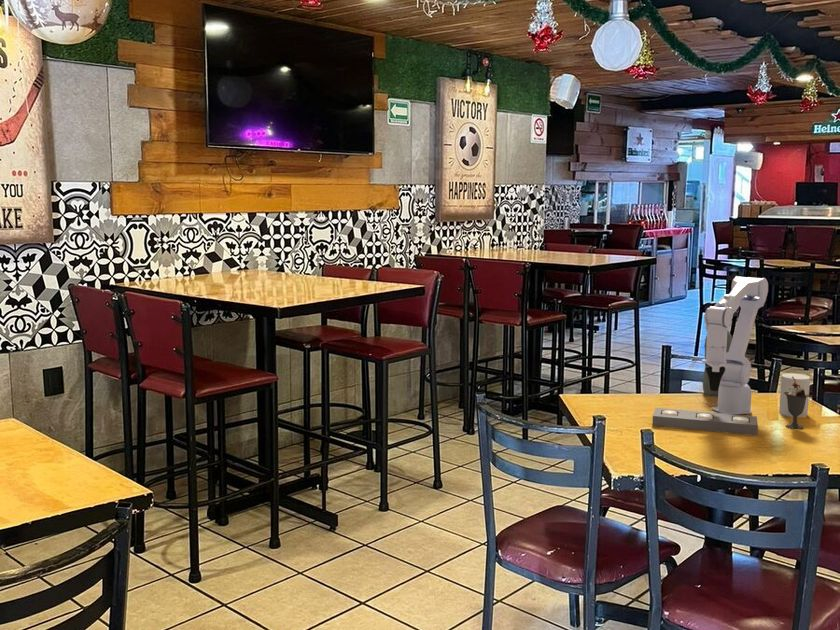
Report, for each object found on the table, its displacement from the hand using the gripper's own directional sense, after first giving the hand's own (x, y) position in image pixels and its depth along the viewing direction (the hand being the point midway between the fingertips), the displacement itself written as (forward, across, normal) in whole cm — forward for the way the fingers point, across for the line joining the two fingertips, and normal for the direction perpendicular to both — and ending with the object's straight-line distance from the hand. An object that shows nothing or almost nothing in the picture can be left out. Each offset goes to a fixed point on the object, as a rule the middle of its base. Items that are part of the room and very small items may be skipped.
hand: (714, 390), depth 252 cm
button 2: (+9, +8, +8) cm, 14 cm away
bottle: (+10, -36, +1) cm, 37 cm away
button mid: (+9, +7, -2) cm, 12 cm away
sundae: (+10, 0, +23) cm, 25 cm away
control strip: (+9, +7, -2) cm, 12 cm away
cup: (+10, -16, +24) cm, 31 cm away
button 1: (+9, +7, -12) cm, 17 cm away
